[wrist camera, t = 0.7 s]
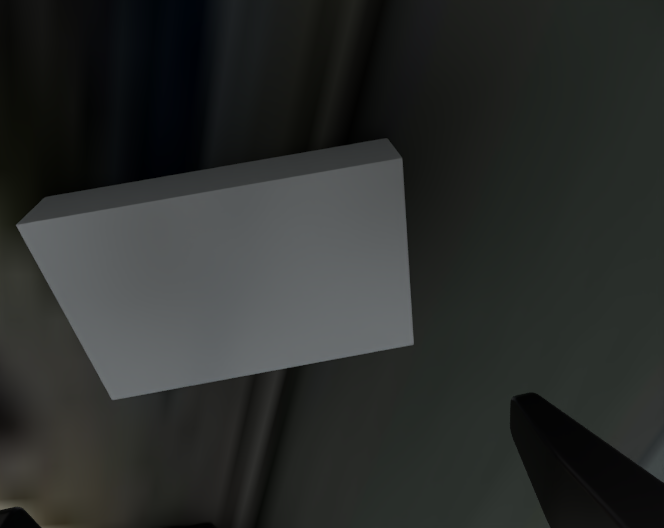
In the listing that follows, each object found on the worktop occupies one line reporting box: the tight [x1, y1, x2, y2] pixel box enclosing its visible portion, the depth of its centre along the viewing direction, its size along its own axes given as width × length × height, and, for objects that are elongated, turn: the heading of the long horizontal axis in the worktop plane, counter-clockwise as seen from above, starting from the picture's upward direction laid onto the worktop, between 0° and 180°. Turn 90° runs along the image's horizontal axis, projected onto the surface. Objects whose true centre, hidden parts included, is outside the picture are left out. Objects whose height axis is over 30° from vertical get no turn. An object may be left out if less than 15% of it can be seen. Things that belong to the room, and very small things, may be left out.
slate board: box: [16, 138, 414, 400], centre depth 21 cm, size 9×14×3 cm, turn 98°
